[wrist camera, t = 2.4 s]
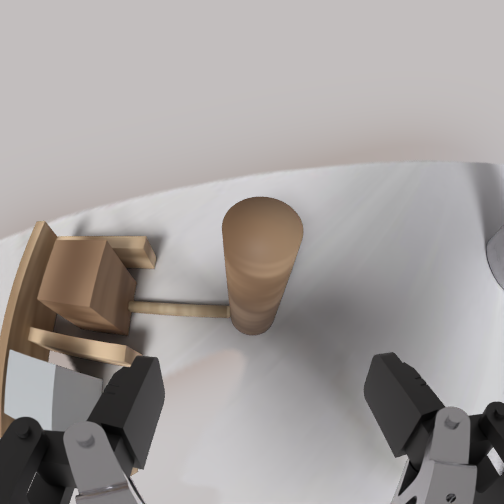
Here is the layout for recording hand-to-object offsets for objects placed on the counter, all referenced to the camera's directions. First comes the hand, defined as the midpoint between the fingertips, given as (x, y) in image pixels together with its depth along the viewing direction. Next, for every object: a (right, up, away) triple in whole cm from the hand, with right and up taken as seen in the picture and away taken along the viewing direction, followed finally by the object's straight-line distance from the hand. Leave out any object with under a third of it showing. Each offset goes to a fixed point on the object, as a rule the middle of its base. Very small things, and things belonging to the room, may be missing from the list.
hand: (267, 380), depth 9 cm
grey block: (-16, -8, +8) cm, 19 cm away
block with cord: (-7, 0, +13) cm, 15 cm away
